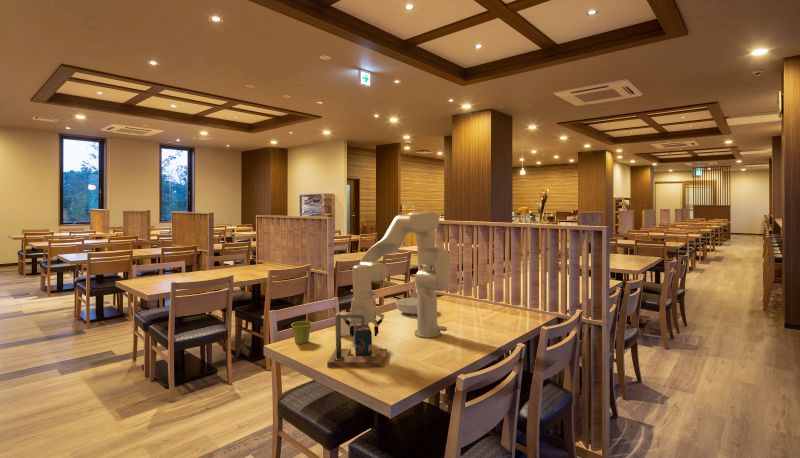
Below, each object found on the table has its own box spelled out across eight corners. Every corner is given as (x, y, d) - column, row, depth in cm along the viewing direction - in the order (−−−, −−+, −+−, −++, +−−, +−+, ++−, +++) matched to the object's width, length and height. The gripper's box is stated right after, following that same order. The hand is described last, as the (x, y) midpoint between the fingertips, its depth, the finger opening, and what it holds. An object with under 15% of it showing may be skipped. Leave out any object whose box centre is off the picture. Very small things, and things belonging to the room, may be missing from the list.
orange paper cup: (348, 336, 208) (348, 316, 208) (333, 336, 210) (332, 315, 209) (353, 332, 216) (353, 312, 215) (338, 331, 217) (338, 311, 217)
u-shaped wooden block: (387, 353, 183) (387, 348, 183) (383, 367, 167) (383, 362, 167) (335, 353, 185) (335, 348, 185) (327, 367, 169) (327, 362, 169)
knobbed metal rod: (366, 357, 173) (365, 313, 172) (364, 361, 169) (363, 315, 168) (335, 357, 173) (333, 313, 173) (332, 361, 169) (331, 315, 169)
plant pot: (316, 340, 204) (315, 321, 203) (305, 346, 195) (304, 327, 194) (298, 338, 207) (298, 320, 206) (287, 344, 198) (287, 325, 197)
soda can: (351, 358, 178) (351, 329, 178) (362, 353, 184) (361, 325, 184) (365, 361, 175) (364, 331, 174) (375, 355, 181) (374, 327, 180)
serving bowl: (432, 317, 243) (432, 305, 243) (395, 317, 243) (395, 305, 243) (430, 308, 264) (430, 297, 263) (396, 308, 264) (395, 297, 264)
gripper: (384, 292, 181) (386, 332, 183) (343, 293, 183) (345, 333, 184) (382, 296, 174) (384, 338, 175) (339, 297, 175) (341, 338, 176)
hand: (364, 335), depth 179 cm, fingers open, 9 cm apart
